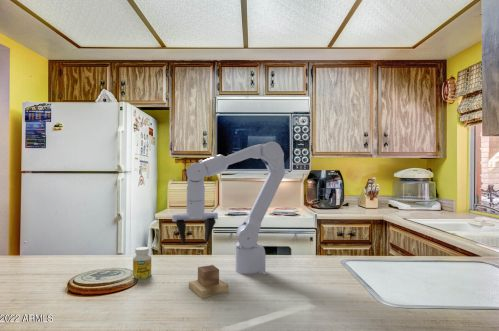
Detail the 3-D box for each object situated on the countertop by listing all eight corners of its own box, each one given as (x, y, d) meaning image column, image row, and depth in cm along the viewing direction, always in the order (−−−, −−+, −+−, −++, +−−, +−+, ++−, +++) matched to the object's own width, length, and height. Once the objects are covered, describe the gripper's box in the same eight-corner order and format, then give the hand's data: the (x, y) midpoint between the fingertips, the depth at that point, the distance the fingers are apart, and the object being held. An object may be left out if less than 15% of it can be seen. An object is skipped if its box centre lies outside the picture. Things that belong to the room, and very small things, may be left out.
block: (212, 278, 88) (212, 264, 88) (218, 284, 84) (219, 269, 84) (197, 281, 86) (197, 267, 86) (203, 287, 82) (203, 272, 82)
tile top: (214, 282, 91) (214, 276, 91) (228, 291, 84) (228, 284, 84) (188, 288, 86) (188, 281, 86) (201, 298, 79) (201, 291, 80)
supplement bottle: (148, 275, 99) (148, 245, 99) (153, 280, 94) (153, 248, 95) (130, 278, 96) (131, 247, 96) (135, 283, 92) (135, 251, 92)
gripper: (213, 198, 107) (213, 238, 106) (170, 199, 101) (170, 241, 101) (220, 200, 100) (219, 242, 100) (174, 202, 94) (174, 246, 94)
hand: (195, 242), depth 100 cm, fingers open, 7 cm apart
